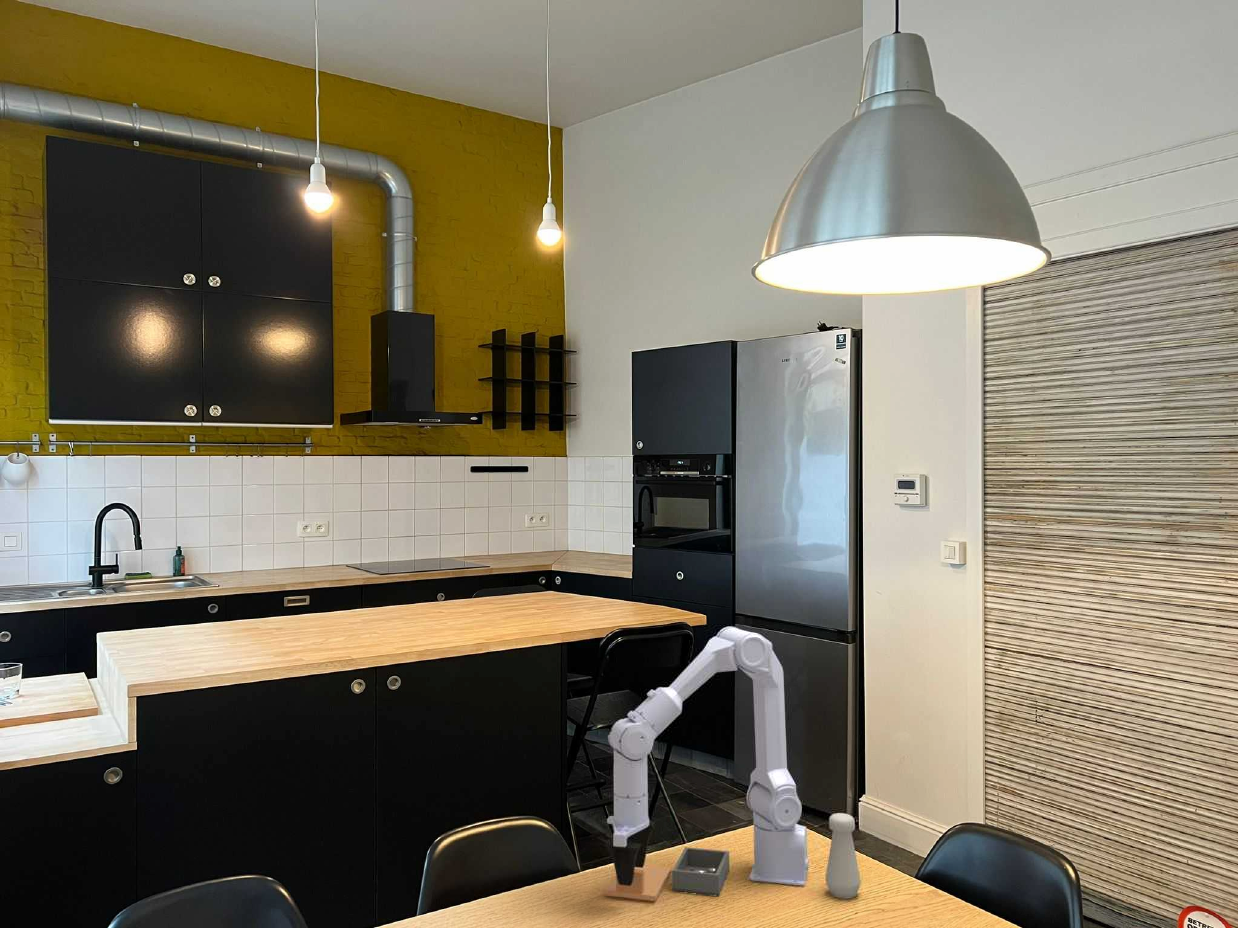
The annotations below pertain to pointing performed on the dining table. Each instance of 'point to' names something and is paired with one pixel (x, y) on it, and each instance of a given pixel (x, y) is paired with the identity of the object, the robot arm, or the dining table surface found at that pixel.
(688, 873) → the tub
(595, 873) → the dining table surface
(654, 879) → the lid
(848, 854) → the salt shaker
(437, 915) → the dining table surface
